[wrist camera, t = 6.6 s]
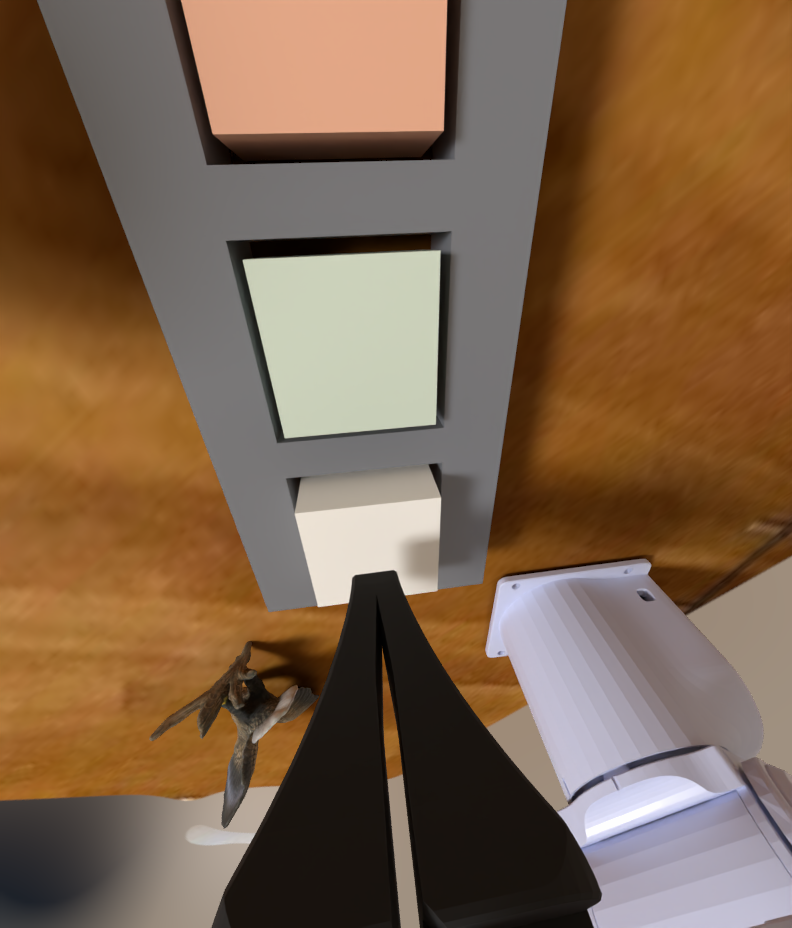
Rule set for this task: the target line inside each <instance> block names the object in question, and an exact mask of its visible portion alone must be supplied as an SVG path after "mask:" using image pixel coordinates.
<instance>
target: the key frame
mask: <svg viewBox="0 0 792 928" xmlns="http://www.w3.org/2000/svg"><path fill="white" fill-rule="evenodd" d="M37 2H38V5H39V7H40V10H41V13H42V15H43V18H44V20H45V23H46V26H47V28H48V31H49V34H50V36H51V39H52V42H53V44H54V47H55V49H56V52H57V55H58V57H59V60H60V63H61V65H62V68H63V71H64V73H65V76H66V78H67V81H68V84H69V86H70V89H71V92H72V94H73V97H74V100H75V102H76V105H77V107H78V110H79V113H80V115H81V118H82V121H83V123H84V126H85V129H86V131H87V134H88V136H89V139H90V142H91V144H92V147H93V150H94V152H95V155H96V158H97V160H98V163H99V165H100V168H101V171H102V173H103V176H104V179H105V181H106V184H107V187H108V189H109V192H110V194H111V197H112V200H113V202H114V205H115V208H116V210H117V213H118V216H119V218H120V221H121V223H122V226H123V229H124V231H125V234H126V237H127V239H128V242H129V245H130V247H131V250H132V252H133V255H134V258H135V260H136V263H137V266H138V268H139V271H140V274H141V276H142V279H143V281H144V284H145V287H146V289H147V292H148V295H149V297H150V300H151V303H152V305H153V308H154V310H155V313H156V316H157V318H158V321H159V324H160V326H161V329H162V332H163V334H164V337H165V339H166V342H167V345H168V347H169V350H170V353H171V355H172V358H173V361H174V363H175V366H176V368H177V371H178V374H179V376H180V379H181V382H182V384H183V387H184V390H185V392H186V395H187V397H188V400H189V403H190V405H191V408H192V411H193V413H194V416H195V419H196V421H197V424H198V426H199V429H200V432H201V434H202V437H203V440H204V442H205V445H206V448H207V450H208V453H209V455H210V458H211V461H212V463H213V466H214V469H215V471H216V474H217V477H218V479H219V482H220V484H221V487H222V490H223V492H224V495H225V498H226V500H227V503H228V506H229V508H230V511H231V513H232V516H233V519H234V521H235V524H236V527H237V529H238V532H239V535H240V537H241V540H242V542H243V545H244V548H245V550H246V553H247V556H248V558H249V561H250V564H251V566H252V569H253V571H254V574H255V577H256V579H257V582H258V585H259V587H260V590H261V593H262V595H263V598H264V601H265V603H266V606H267V608H268V611H269V612H273V611H280V610H288V609H295V608H303V607H310V606H318V604H317V600H316V596H315V592H314V588H313V585H312V581H311V577H310V573H309V569H308V565H307V561H306V557H305V553H304V549H303V545H302V541H301V537H300V533H299V529H298V525H297V521H296V517H295V509H296V503H297V498H298V492H299V487H300V481H301V477H305V476H315V475H325V474H334V473H344V472H354V471H364V470H374V469H384V468H394V467H403V466H413V465H423V464H428V465H429V467H430V470H431V473H432V475H433V478H434V480H435V483H436V485H437V488H438V491H439V493H440V496H441V515H440V540H439V564H438V589H444V588H452V587H459V586H467V585H474V584H482V583H483V576H484V569H485V563H486V556H487V549H488V542H489V535H490V528H491V521H492V514H493V507H494V500H495V493H496V487H497V480H498V473H499V466H500V459H501V452H502V445H503V438H504V431H505V424H506V418H507V411H508V404H509V397H510V390H511V383H512V376H513V369H514V362H515V355H516V349H517V342H518V335H519V328H520V321H521V314H522V307H523V300H524V293H525V286H526V280H527V273H528V266H529V259H530V252H531V245H532V238H533V231H534V224H535V217H536V210H537V204H538V197H539V190H540V183H541V176H542V169H543V162H544V155H545V148H546V141H547V135H548V128H549V121H550V114H551V107H552V100H553V93H554V86H555V79H556V72H557V66H558V59H559V52H560V45H561V38H562V31H563V24H564V17H565V10H566V3H567V0H447V26H446V64H445V102H444V131H443V132H442V133H441V134H440V136H439V137H438V138H437V139H436V140H435V141H434V143H433V144H432V160H410V161H368V162H325V163H282V164H239V165H232V162H231V157H230V153H229V148H228V147H227V146H226V145H225V144H223V143H222V142H221V141H220V140H219V139H218V138H216V137H215V136H214V135H213V133H212V129H211V125H210V121H209V116H208V112H207V108H206V104H205V99H204V95H203V91H202V87H201V82H200V78H199V74H198V70H197V66H196V61H195V57H194V53H193V49H192V44H191V40H190V36H189V32H188V28H187V23H186V19H185V15H184V11H183V6H182V2H181V0H37ZM423 234H431V250H441V253H440V290H439V328H438V366H437V404H436V425H425V426H414V427H403V428H392V429H382V430H371V431H360V432H349V433H338V434H327V435H316V436H305V437H294V438H285V437H284V433H283V429H282V425H281V420H280V416H279V412H278V408H277V404H276V399H275V395H274V391H273V387H272V382H271V378H270V374H269V370H268V365H267V361H266V357H265V353H264V349H263V344H262V340H261V336H260V332H259V327H258V323H257V319H256V315H255V311H254V306H253V302H252V298H251V294H250V289H249V285H248V281H247V277H246V273H245V268H244V264H243V260H244V259H252V258H253V256H252V252H251V247H250V243H249V242H258V241H282V240H305V239H329V238H353V237H376V236H400V235H423Z"/></svg>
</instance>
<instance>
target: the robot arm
mask: <svg viewBox="0 0 792 928" xmlns="http://www.w3.org/2000/svg"><path fill="white" fill-rule="evenodd" d="M650 568H651V563H650V562H649V561H648V560H647V559H636V560H628V561H621V562H613V563H606V564H598V565H591V566H583V567H576V568H568V569H561V570H553V571H546V572H538V573H531V574H523V575H516V576H508V577H503V578H502V579H500V580H499V581H498V583H497V588H496V594H495V599H494V605H493V611H492V616H491V622H490V627H489V633H488V638H487V644H486V654H487V656H488V657H491V658H493V657H500V656H506V655H508V656H509V658H510V661H511V663H512V666H513V668H514V671H515V673H516V676H517V678H518V681H519V683H520V685H521V688H522V690H523V693H524V695H525V698H526V700H527V703H528V705H529V708H530V710H531V713H532V715H533V718H534V720H535V722H536V725H537V727H538V730H539V732H540V735H541V738H542V739H543V742H544V745H545V747H546V750H547V752H548V755H549V757H550V760H551V762H552V765H553V767H554V770H555V772H556V775H557V777H558V780H559V782H560V784H561V787H562V789H563V792H564V794H565V797H566V799H567V802H568V804H569V805H568V806H567V807H565V808H563V809H560V810H559V811H557V812H556V811H555V810H554V809H553V807H552V806H551V805H550V804H549V803H548V802H547V801H546V800H545V799H544V797H543V796H542V795H541V794H540V793H539V792H538V791H537V790H536V788H535V787H534V786H533V785H532V784H531V783H530V782H529V780H528V779H527V778H526V777H525V776H524V774H523V773H522V772H521V771H520V770H519V768H518V767H517V766H516V765H515V764H514V762H513V761H512V760H511V759H510V758H509V756H508V755H507V754H506V753H505V752H504V750H503V749H502V748H501V747H500V745H499V744H498V743H497V742H496V740H495V739H494V738H493V736H492V735H491V734H490V732H489V731H488V730H487V728H486V727H485V726H484V725H483V723H482V722H481V721H480V719H479V718H478V717H477V716H476V714H475V713H474V711H473V710H472V709H471V707H470V706H469V704H468V703H467V702H466V700H465V699H464V698H463V696H462V695H461V693H460V692H459V690H458V689H457V687H456V686H455V684H454V683H453V681H452V680H451V678H450V677H449V675H448V674H447V672H446V671H445V669H444V668H443V666H442V664H441V663H440V661H439V659H438V658H437V656H436V654H435V653H434V651H433V649H432V648H431V646H430V644H429V643H428V641H427V639H426V637H425V635H424V634H423V632H422V630H421V628H420V626H419V624H418V622H417V620H416V618H415V616H414V614H413V612H412V610H411V608H410V606H409V604H408V601H407V599H406V597H405V594H404V592H403V589H402V587H401V584H400V581H399V578H398V574H397V572H396V571H394V570H390V571H382V572H374V573H367V574H359V575H355V576H354V577H352V585H351V593H350V599H349V604H348V609H347V613H346V618H345V621H344V625H343V629H342V632H341V636H340V640H339V643H338V647H337V650H336V653H335V656H334V659H333V662H332V665H331V668H330V671H329V674H328V677H327V680H326V682H325V685H324V688H323V690H322V693H321V696H320V698H319V701H318V703H317V706H316V708H315V711H314V713H313V716H312V718H311V720H310V723H309V725H308V727H307V729H306V732H305V734H304V736H303V739H302V741H301V743H300V745H299V748H298V750H297V752H296V754H295V756H294V759H293V761H292V763H291V765H290V767H289V769H288V771H287V773H286V775H285V777H284V779H283V781H282V783H281V785H280V787H279V789H278V791H277V793H276V795H275V797H274V799H273V801H272V803H271V805H270V807H269V809H268V811H267V813H266V815H265V817H264V819H263V821H262V823H261V825H260V827H259V829H258V830H257V832H256V834H255V836H254V838H253V839H252V841H251V843H250V845H249V847H248V849H247V850H246V852H245V854H244V856H243V858H242V860H241V862H240V863H239V865H238V867H237V869H236V870H235V872H234V874H233V876H232V878H231V880H230V881H229V883H228V885H227V887H226V889H225V891H224V894H223V897H222V899H221V902H220V905H219V908H218V911H217V913H216V916H215V919H214V922H213V925H212V928H401V926H400V914H399V903H398V892H397V881H396V870H395V859H394V849H393V838H392V826H391V816H390V804H389V792H388V781H387V770H386V758H385V747H384V730H383V681H382V648H383V654H384V659H385V665H386V670H387V675H388V681H389V686H390V691H391V697H392V702H393V707H394V713H395V718H396V724H397V730H398V737H399V745H400V753H401V762H402V771H403V780H404V788H405V798H406V807H407V816H408V824H409V833H410V842H411V851H412V860H413V869H414V877H415V887H416V896H417V905H418V914H419V924H420V928H792V776H791V775H790V774H789V773H788V772H786V771H784V770H782V769H779V768H777V767H775V766H772V765H770V764H766V763H765V762H764V761H763V760H761V759H759V758H757V757H756V756H757V754H758V753H759V752H760V749H761V747H762V743H763V737H764V735H763V731H764V730H763V723H762V719H761V716H760V713H759V711H758V708H757V706H756V703H755V701H754V699H753V697H752V695H751V693H750V691H749V690H748V688H747V686H746V685H745V683H744V682H743V680H742V678H741V677H740V676H739V674H738V673H737V672H736V670H735V669H734V668H733V667H732V665H731V664H730V663H729V662H728V661H727V660H726V659H725V657H724V656H723V655H722V654H721V653H720V652H719V651H718V650H717V649H716V648H715V647H714V646H713V645H712V643H711V642H710V641H709V640H708V639H707V638H706V637H705V636H704V635H703V634H702V633H701V632H700V630H698V628H697V627H696V626H695V625H694V624H693V623H692V622H691V621H690V620H689V619H688V618H687V616H686V615H685V614H684V613H683V612H682V611H681V610H680V609H679V608H678V607H677V606H676V605H675V604H674V602H673V601H672V600H671V599H670V598H669V597H668V596H667V595H666V594H665V593H664V592H663V591H662V590H661V588H660V587H659V586H658V585H657V584H656V583H655V582H654V581H653V580H652V579H651V578H650V577H649V575H647V574H648V572H649V570H650Z"/></svg>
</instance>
